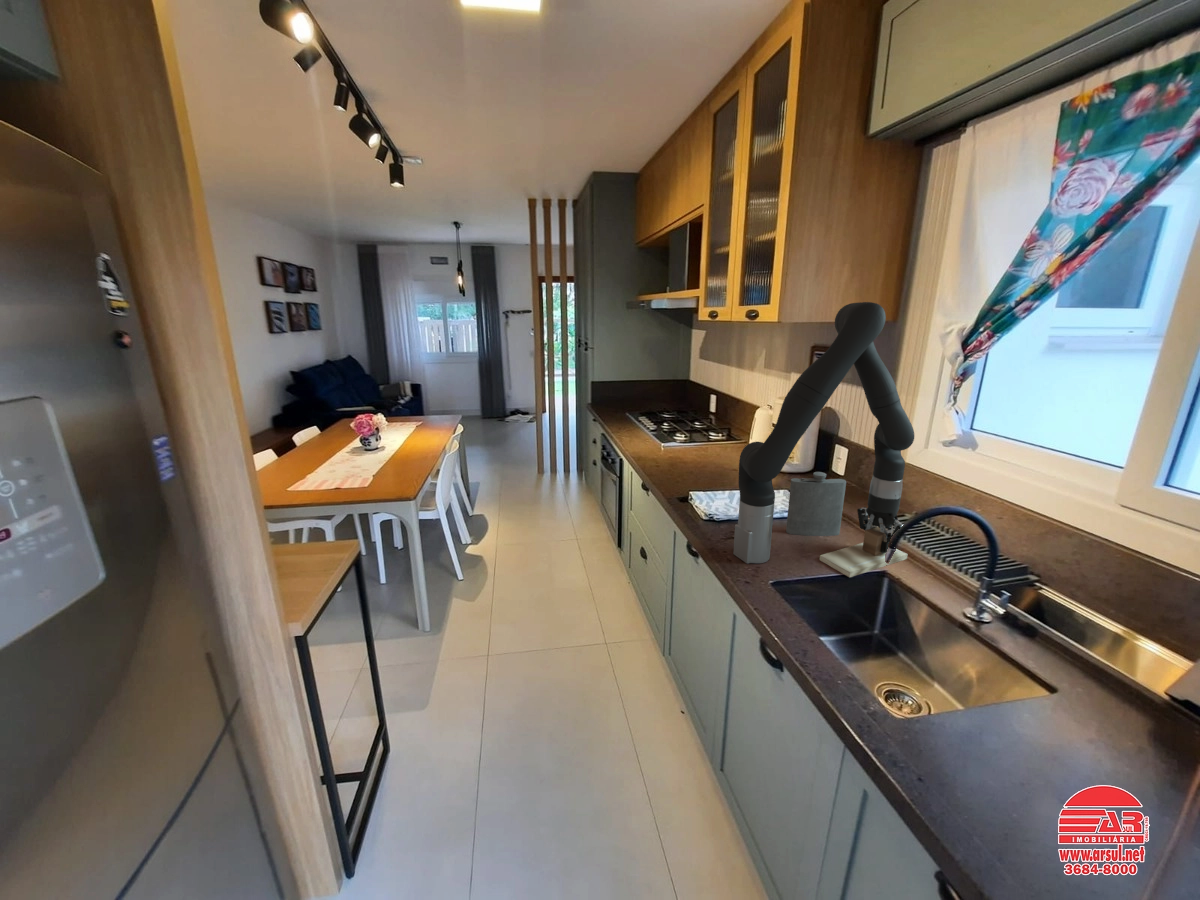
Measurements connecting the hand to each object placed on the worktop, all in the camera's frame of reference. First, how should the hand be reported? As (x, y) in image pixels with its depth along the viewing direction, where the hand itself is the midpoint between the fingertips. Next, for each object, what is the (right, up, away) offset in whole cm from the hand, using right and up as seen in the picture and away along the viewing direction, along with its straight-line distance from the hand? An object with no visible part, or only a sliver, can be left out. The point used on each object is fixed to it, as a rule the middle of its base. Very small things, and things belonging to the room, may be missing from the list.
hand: (876, 548), depth 137 cm
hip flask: (-11, +2, +15) cm, 19 cm away
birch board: (-4, -3, -1) cm, 5 cm away
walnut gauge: (0, -1, 0) cm, 1 cm away
